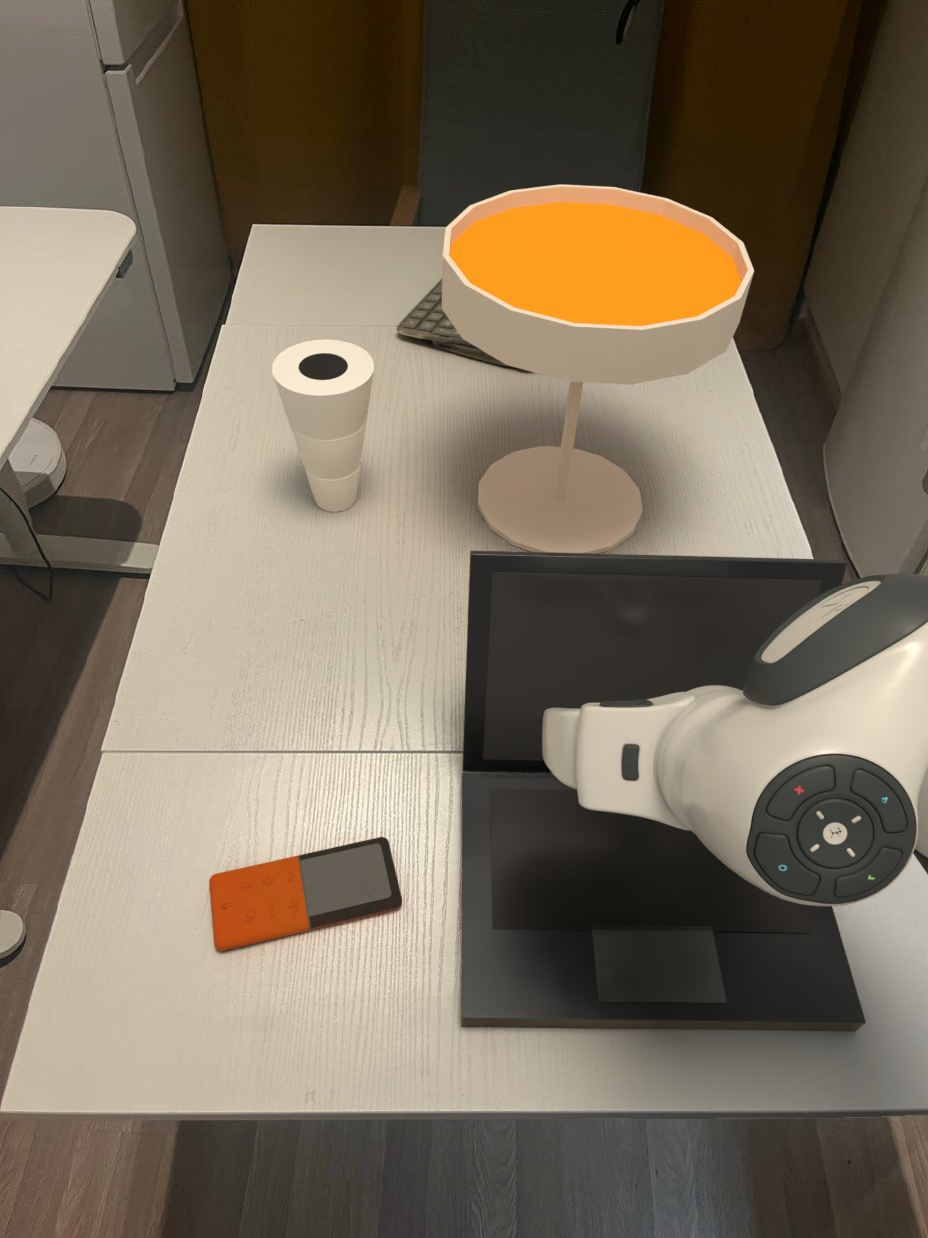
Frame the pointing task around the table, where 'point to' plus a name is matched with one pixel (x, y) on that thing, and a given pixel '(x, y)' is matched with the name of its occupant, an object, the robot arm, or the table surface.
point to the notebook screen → (611, 635)
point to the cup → (327, 413)
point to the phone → (303, 893)
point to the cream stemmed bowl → (586, 332)
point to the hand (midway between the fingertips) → (665, 724)
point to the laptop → (439, 327)
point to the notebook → (628, 925)
